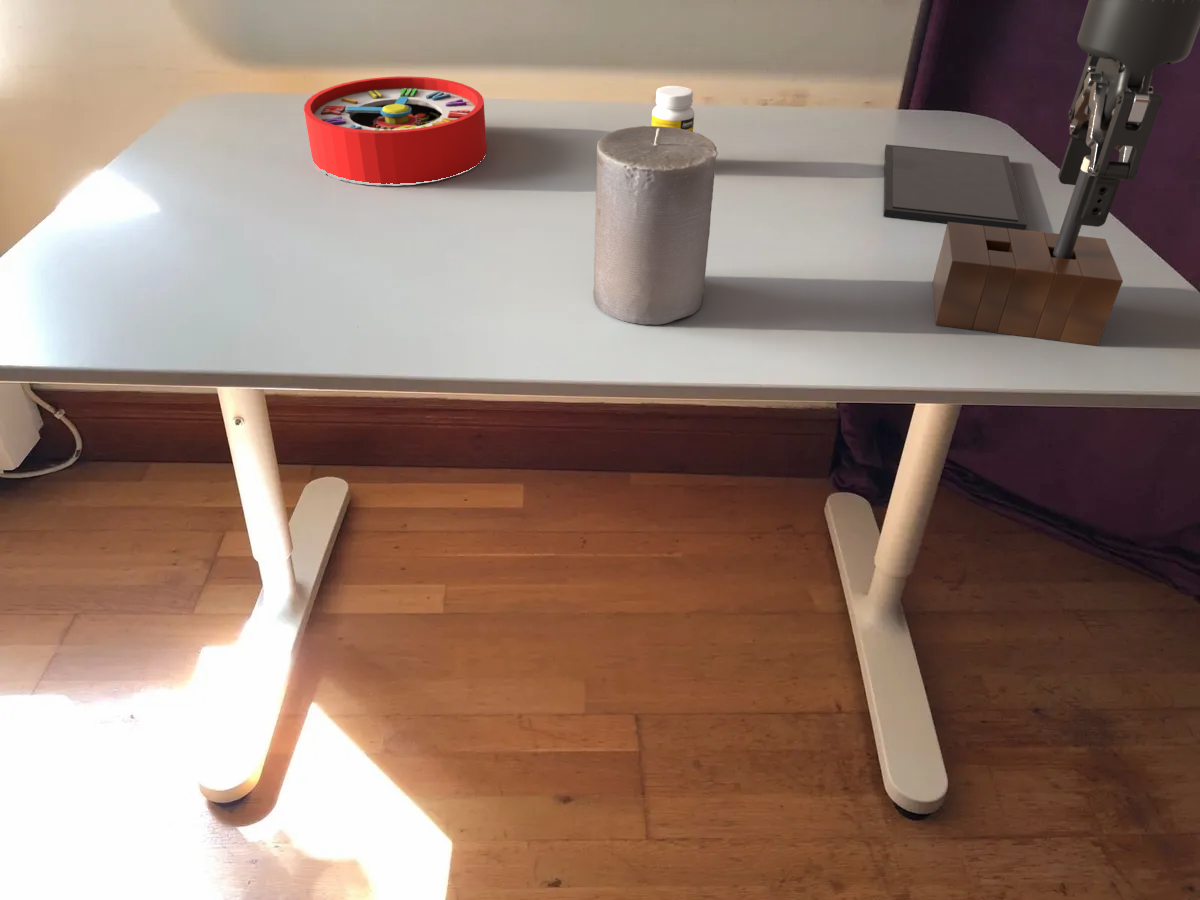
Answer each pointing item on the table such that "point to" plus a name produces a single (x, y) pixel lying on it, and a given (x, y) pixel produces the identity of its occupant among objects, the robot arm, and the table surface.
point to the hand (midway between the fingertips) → (1078, 202)
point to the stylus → (1071, 218)
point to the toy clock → (396, 129)
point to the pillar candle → (652, 222)
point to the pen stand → (1024, 284)
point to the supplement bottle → (674, 108)
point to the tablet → (951, 187)
